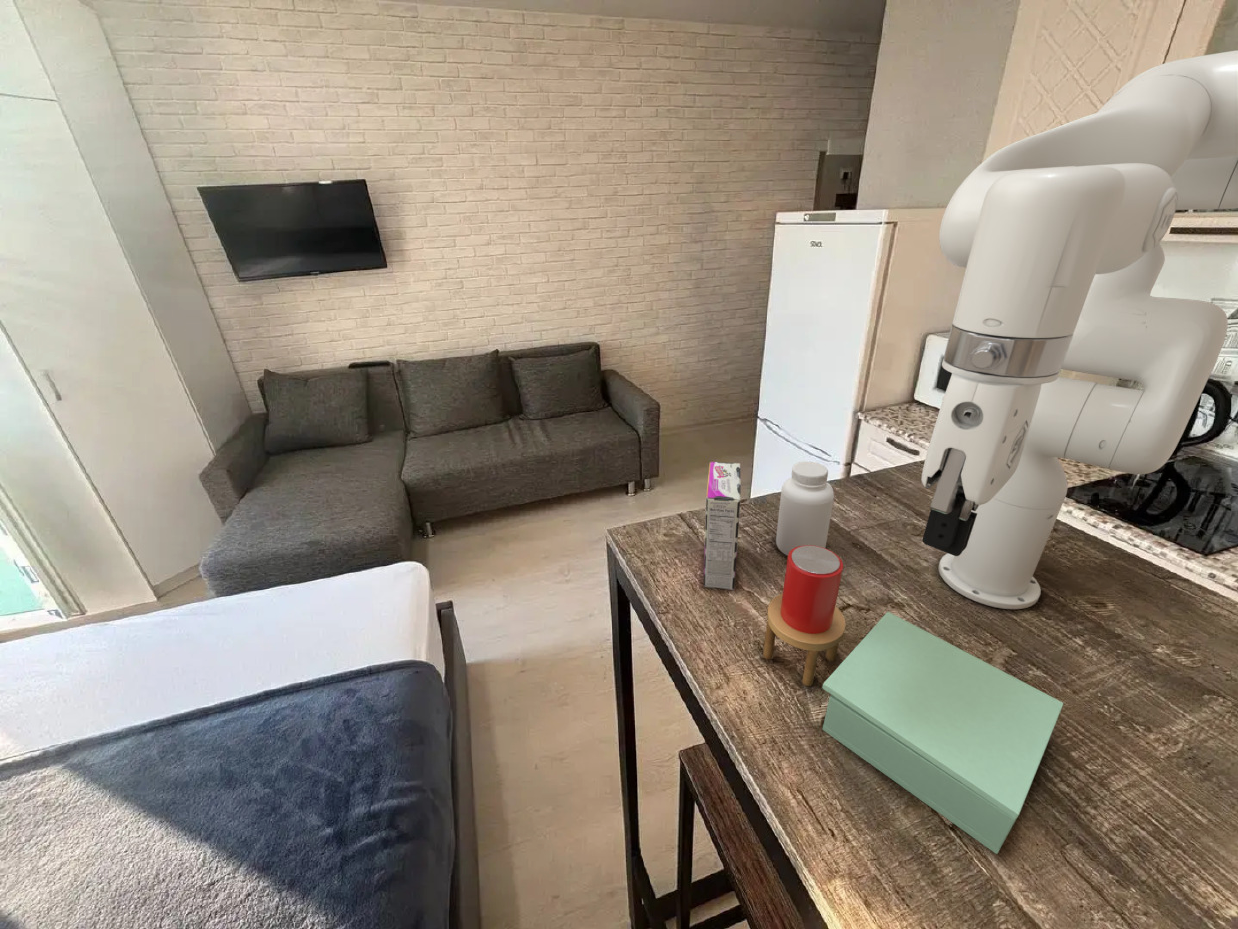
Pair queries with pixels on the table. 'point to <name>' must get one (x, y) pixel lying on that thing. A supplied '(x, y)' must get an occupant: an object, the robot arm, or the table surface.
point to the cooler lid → (949, 708)
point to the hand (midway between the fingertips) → (943, 546)
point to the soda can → (811, 588)
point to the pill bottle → (804, 508)
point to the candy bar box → (722, 525)
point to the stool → (803, 638)
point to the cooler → (918, 775)
